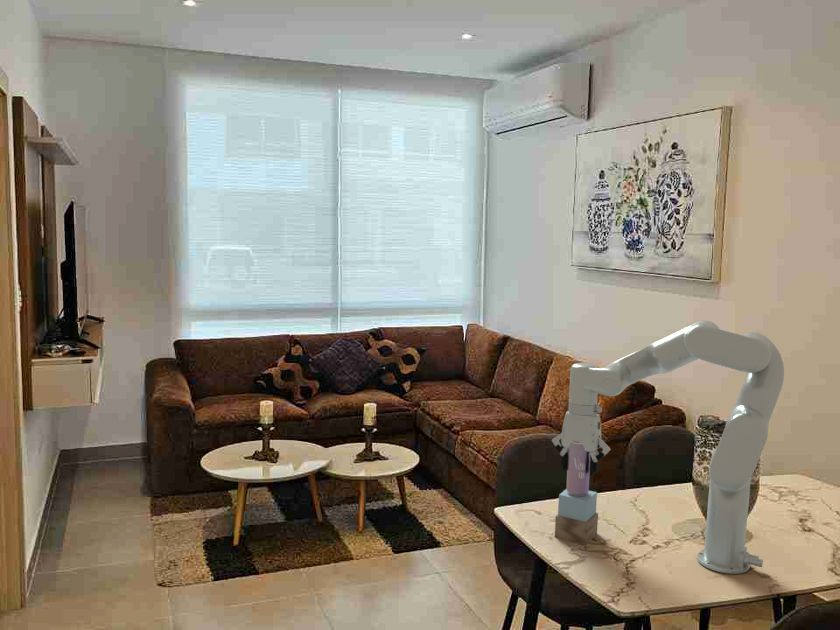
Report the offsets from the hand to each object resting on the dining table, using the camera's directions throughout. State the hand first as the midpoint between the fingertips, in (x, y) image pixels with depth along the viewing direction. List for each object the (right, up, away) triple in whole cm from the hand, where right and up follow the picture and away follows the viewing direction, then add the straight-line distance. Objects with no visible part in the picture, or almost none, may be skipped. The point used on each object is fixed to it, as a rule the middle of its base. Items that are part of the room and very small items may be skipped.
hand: (579, 471), depth 210 cm
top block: (0, -12, +2) cm, 12 cm away
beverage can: (0, -6, +1) cm, 6 cm away
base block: (0, -18, +2) cm, 18 cm away
